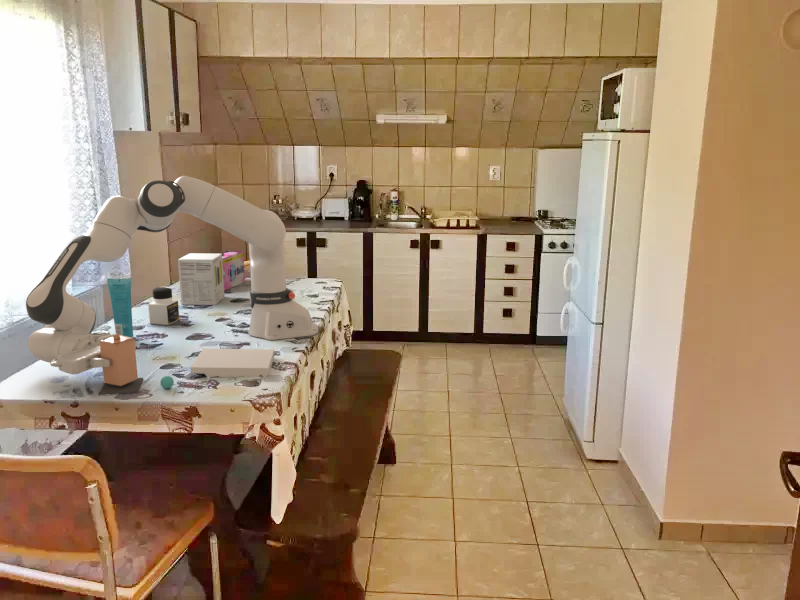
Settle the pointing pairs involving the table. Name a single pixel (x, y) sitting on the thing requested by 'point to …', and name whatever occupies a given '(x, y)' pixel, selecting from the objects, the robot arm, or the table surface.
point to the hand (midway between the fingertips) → (121, 358)
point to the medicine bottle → (163, 307)
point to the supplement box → (201, 278)
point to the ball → (167, 382)
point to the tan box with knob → (119, 359)
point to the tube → (121, 305)
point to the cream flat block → (234, 362)
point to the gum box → (233, 268)
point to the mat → (121, 387)
